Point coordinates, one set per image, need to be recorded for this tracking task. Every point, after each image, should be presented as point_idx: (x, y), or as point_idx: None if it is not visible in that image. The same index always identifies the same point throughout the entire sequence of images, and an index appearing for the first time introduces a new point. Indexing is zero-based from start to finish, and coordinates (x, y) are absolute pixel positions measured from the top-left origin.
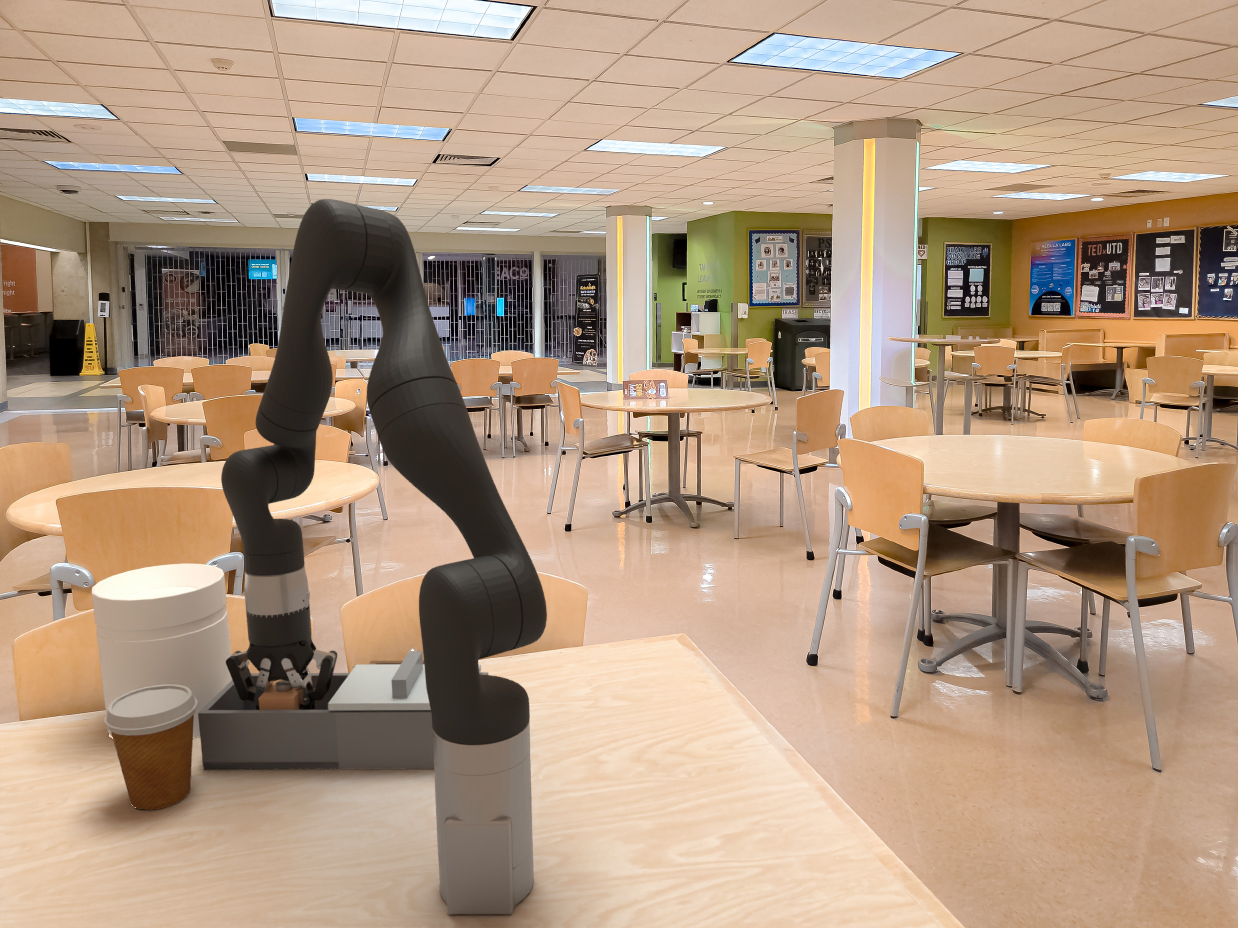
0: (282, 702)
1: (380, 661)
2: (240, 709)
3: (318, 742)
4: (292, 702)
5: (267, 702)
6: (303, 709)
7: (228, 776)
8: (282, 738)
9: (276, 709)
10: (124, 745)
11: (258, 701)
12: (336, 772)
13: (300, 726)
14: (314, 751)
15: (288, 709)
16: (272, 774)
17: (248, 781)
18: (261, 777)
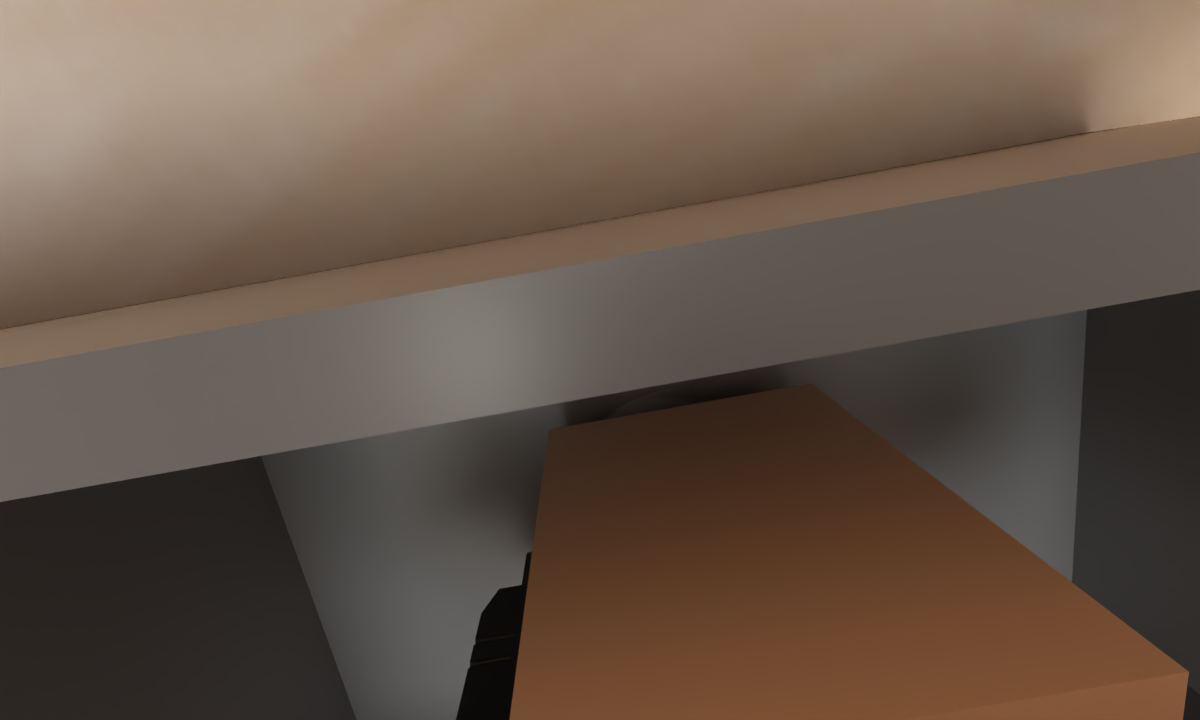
0: (704, 675)
1: None
2: None
3: (189, 304)
4: (537, 703)
5: (958, 632)
6: None
7: (881, 77)
8: (529, 244)
9: (770, 572)
10: None
11: None
12: (186, 253)
13: (255, 301)
14: (281, 283)
15: (603, 601)
16: (596, 155)
17: (710, 35)
18: (649, 103)
